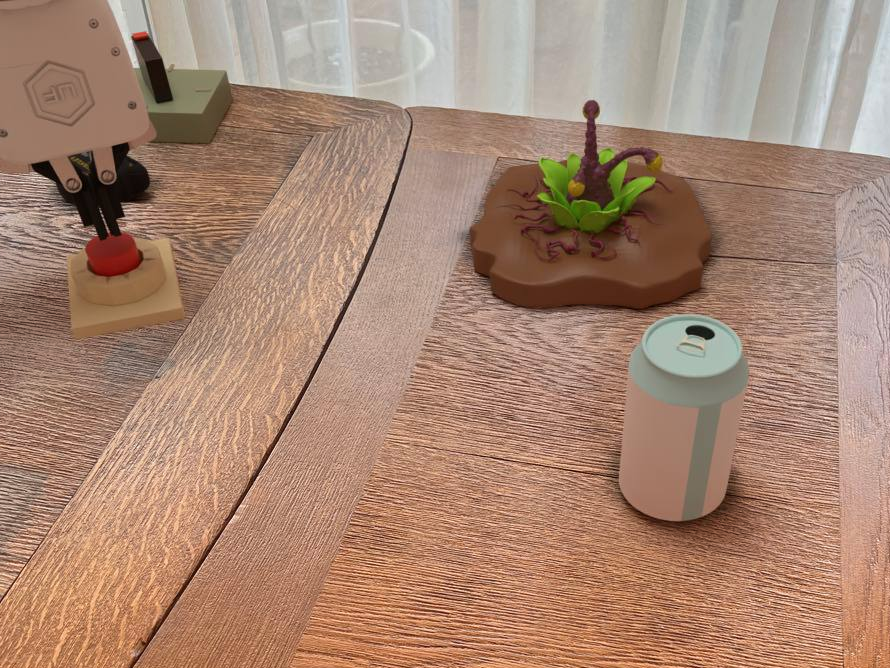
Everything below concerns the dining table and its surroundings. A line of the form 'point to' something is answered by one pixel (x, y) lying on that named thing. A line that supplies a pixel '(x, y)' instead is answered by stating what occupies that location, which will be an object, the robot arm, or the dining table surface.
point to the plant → (591, 230)
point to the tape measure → (128, 178)
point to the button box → (124, 292)
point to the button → (113, 255)
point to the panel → (188, 105)
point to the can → (682, 417)
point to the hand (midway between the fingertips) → (107, 228)
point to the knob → (152, 67)
